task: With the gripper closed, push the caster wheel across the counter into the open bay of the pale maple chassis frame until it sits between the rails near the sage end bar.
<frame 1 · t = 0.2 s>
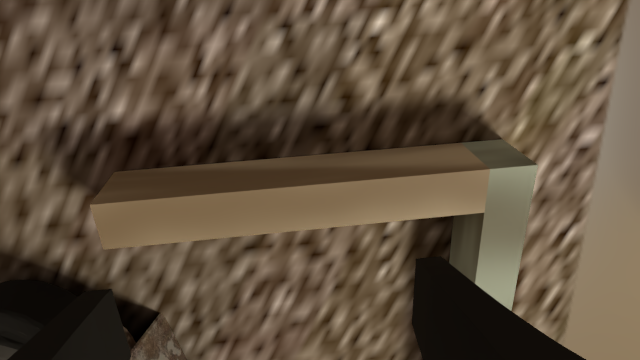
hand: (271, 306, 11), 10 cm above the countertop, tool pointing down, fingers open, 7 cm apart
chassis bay: (328, 323, 24), on the countertop
caster wheel: (82, 347, 24), on the countertop
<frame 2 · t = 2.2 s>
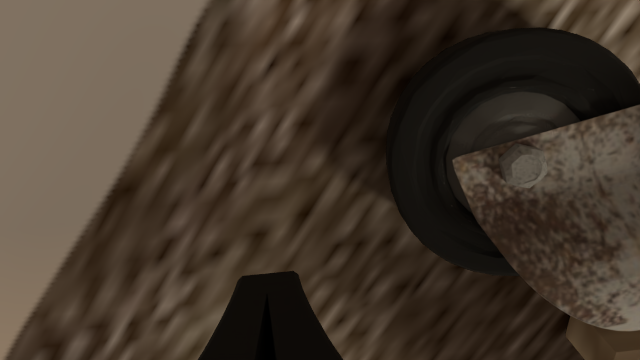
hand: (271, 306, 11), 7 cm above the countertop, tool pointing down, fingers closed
caster wheel: (502, 159, 18), on the countertop
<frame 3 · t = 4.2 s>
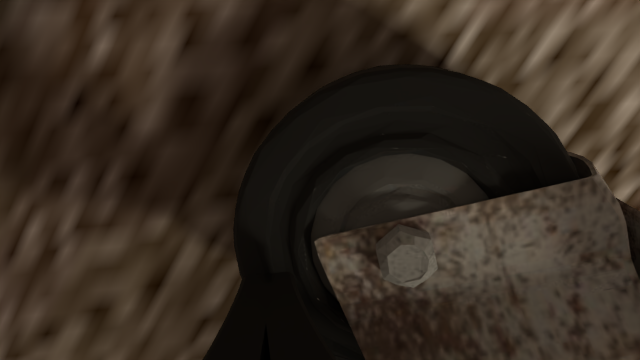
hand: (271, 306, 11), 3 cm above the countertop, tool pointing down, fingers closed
caster wheel: (413, 222, 15), on the countertop, touching gripper
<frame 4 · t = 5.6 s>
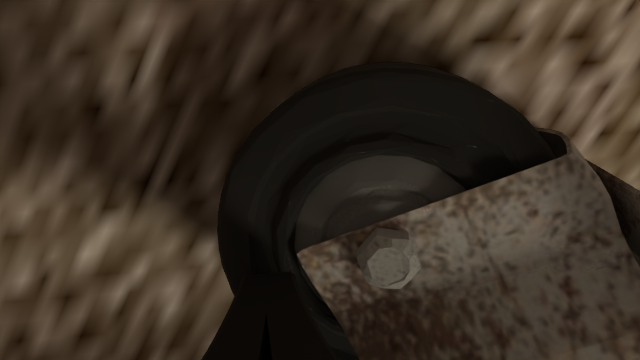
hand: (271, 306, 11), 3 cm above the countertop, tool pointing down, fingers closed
caster wheel: (408, 216, 14), on the countertop, touching gripper
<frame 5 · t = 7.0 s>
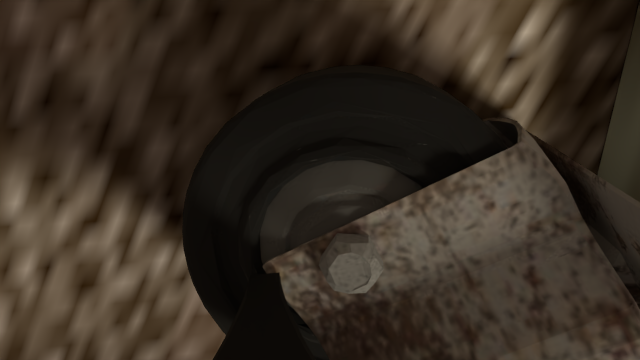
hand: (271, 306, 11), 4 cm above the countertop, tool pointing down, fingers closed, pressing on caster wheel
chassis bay: (398, 228, 14), on the countertop
caster wheel: (384, 216, 14), on the countertop, touching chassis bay, gripper
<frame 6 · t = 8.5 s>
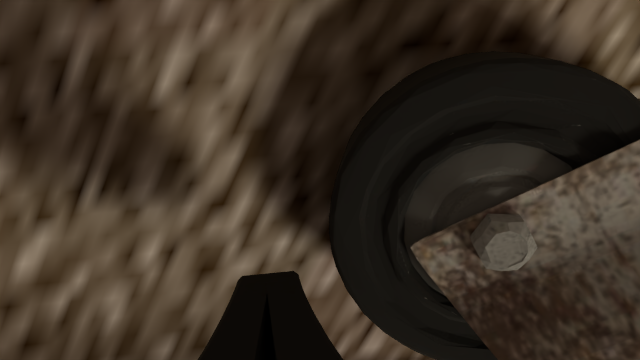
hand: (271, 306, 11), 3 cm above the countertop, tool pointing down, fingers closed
caster wheel: (493, 200, 15), on the countertop
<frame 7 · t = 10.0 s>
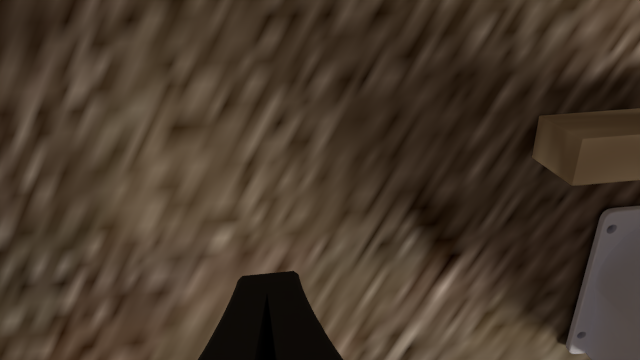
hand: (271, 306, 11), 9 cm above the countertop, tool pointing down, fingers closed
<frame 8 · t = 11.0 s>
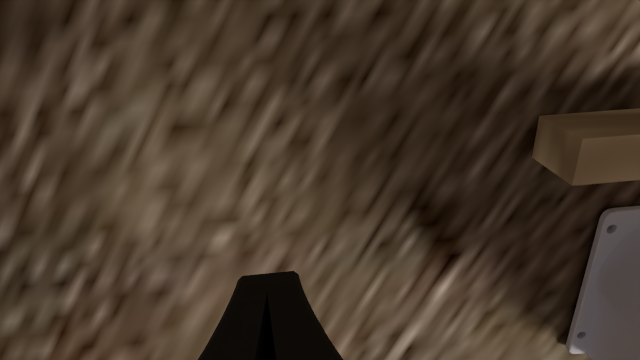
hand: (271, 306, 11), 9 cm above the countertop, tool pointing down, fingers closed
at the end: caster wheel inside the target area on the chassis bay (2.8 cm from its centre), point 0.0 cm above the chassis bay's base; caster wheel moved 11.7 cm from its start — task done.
